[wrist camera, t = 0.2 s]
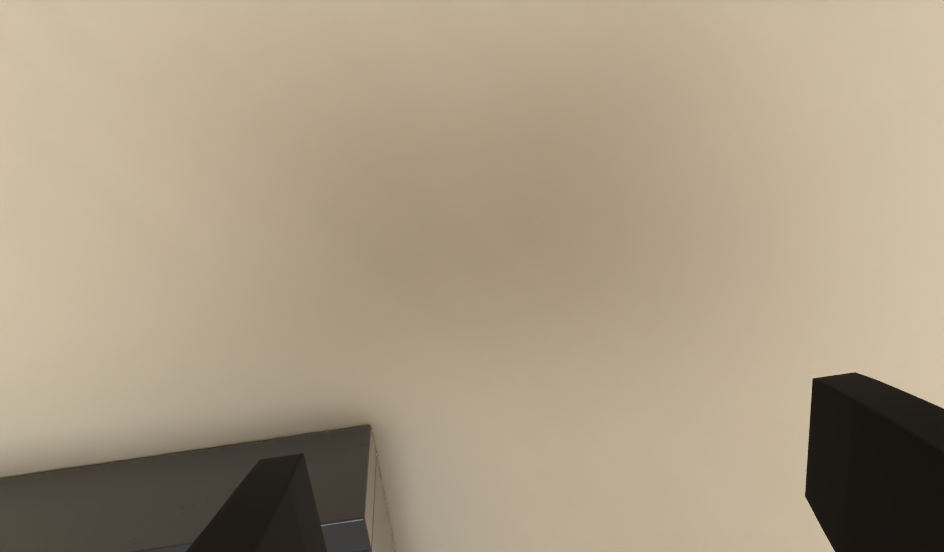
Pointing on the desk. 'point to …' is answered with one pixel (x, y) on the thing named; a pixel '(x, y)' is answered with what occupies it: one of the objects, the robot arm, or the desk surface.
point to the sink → (192, 497)
